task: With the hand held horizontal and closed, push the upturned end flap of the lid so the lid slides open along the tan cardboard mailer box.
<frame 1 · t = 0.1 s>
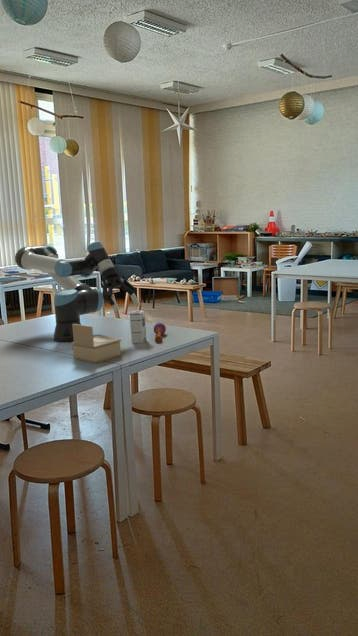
hand: (128, 308, 269), 15 cm above the table, tool tilted 35°, fingers open, 13 cm apart
kendama: (159, 338, 274), on the table
syrup box: (138, 342, 267), on the table
lid: (97, 357, 242), resting on mailer, slide at 0.0 cm
mailer: (97, 357, 242), on the table
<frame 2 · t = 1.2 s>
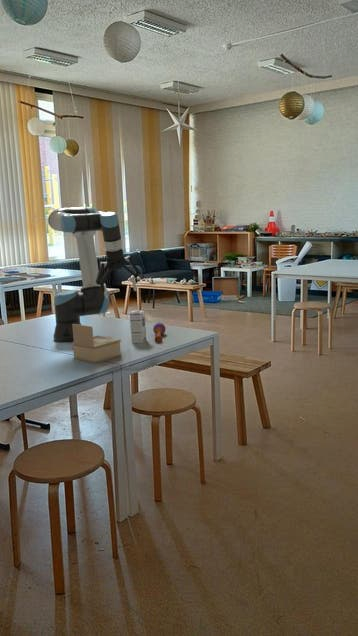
hand: (120, 293, 255), 24 cm above the table, tool tilted 15°, fingers open, 13 cm apart
nothing on the table moved.
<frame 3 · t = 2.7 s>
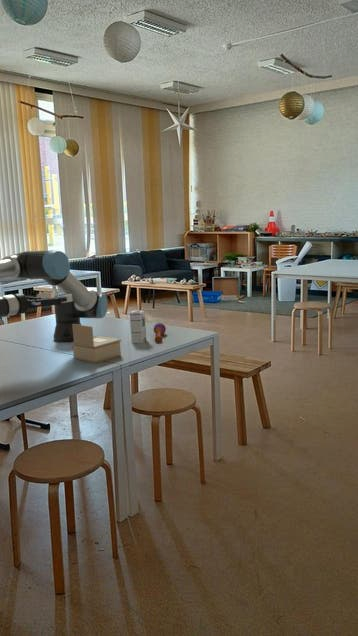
hand: (61, 296, 225), 28 cm above the table, tool horizontal, fingers open, 12 cm apart
nothing on the table moved.
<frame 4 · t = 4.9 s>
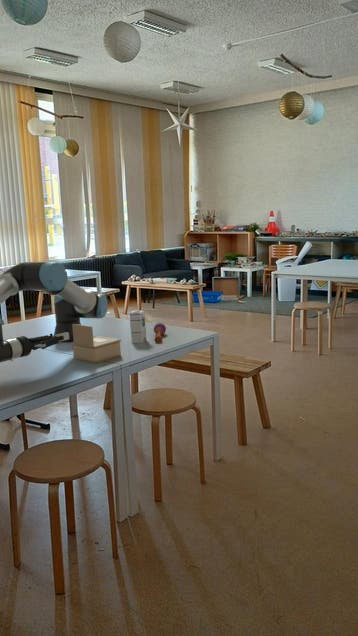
hand: (67, 335, 229), 12 cm above the table, tool horizontal, fingers closed
nothing on the table moved.
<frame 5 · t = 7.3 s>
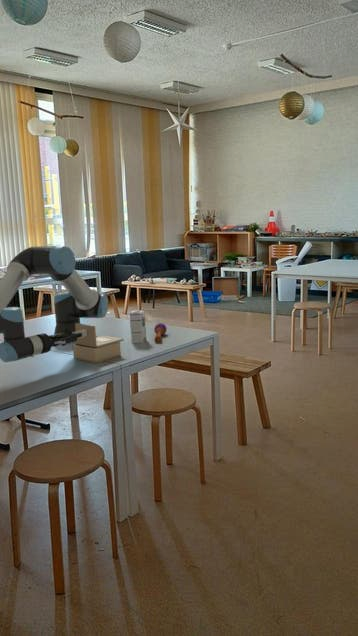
hand: (85, 332, 235), 12 cm above the table, tool horizontal, fingers closed
lid: (100, 356, 243), resting on mailer, slide at 1.5 cm, touching gripper
everything else where it was.
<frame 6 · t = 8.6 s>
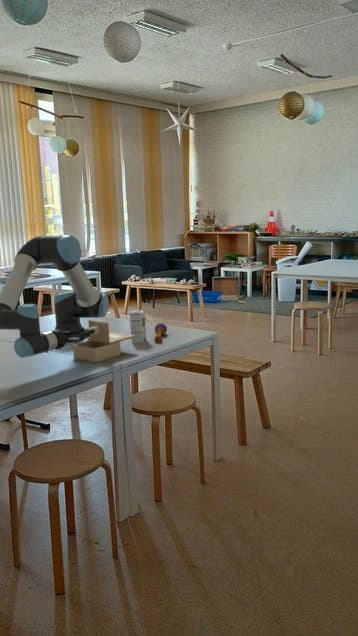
hand: (98, 329, 241), 12 cm above the table, tool horizontal, fingers closed
lid: (112, 352, 248), resting on mailer, slide at 8.7 cm, touching gripper
everything else where it was.
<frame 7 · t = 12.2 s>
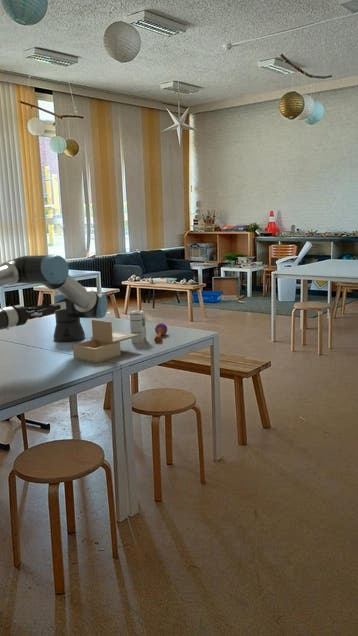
hand: (64, 305, 226), 25 cm above the table, tool horizontal, fingers closed
lid: (115, 351, 250), resting on mailer, slide at 10.4 cm
everything else where it was.
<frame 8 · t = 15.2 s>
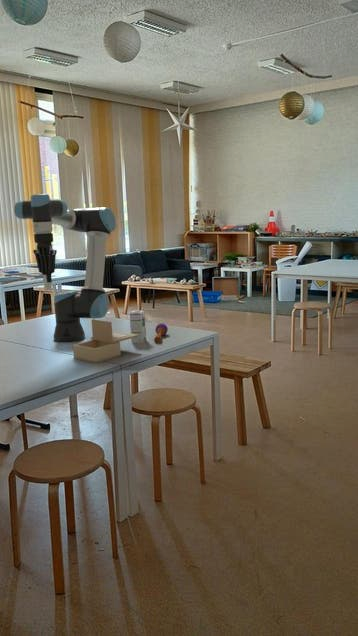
hand: (48, 289, 238), 29 cm above the table, tool pointing down, fingers closed
at the end: lid slide at 10.4 cm; lid touching nothing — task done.
